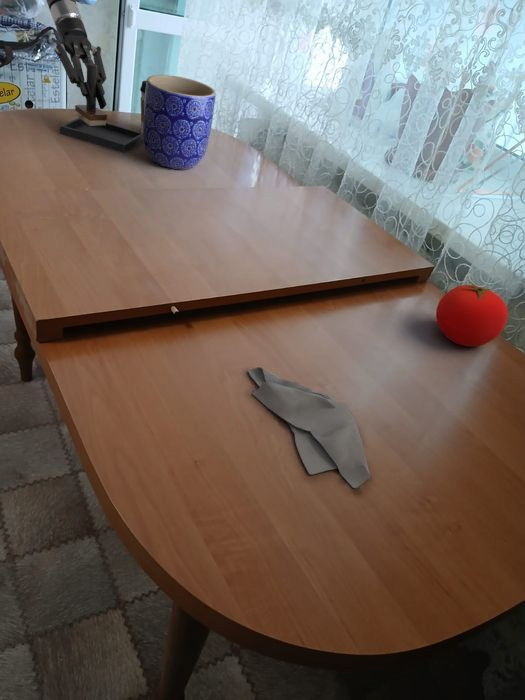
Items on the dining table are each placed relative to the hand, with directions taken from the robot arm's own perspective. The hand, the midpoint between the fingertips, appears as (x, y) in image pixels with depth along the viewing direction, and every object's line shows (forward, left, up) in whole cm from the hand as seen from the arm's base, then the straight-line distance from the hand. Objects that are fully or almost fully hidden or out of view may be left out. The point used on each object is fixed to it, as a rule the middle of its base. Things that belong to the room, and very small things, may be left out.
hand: (98, 106), depth 152 cm
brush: (-3, +2, -5) cm, 6 cm away
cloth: (+80, -87, -9) cm, 118 cm away
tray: (+1, +2, -9) cm, 9 cm away
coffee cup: (+10, +16, -9) cm, 21 cm away
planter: (+24, -1, -9) cm, 25 cm away
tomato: (+105, -49, -9) cm, 116 cm away
